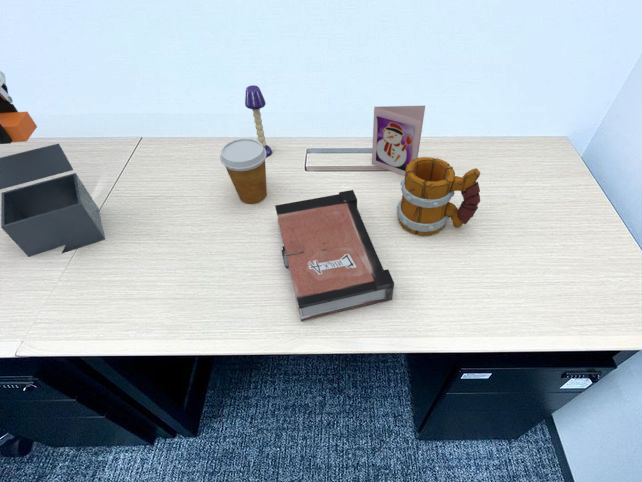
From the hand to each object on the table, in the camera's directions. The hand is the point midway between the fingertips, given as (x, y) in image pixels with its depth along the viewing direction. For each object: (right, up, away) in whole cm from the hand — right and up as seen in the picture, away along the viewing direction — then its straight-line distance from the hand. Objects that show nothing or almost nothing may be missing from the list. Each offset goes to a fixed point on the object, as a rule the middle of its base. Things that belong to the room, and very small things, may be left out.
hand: (9, 133), depth 71 cm
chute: (+2, -17, +11) cm, 21 cm away
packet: (0, 0, 0) cm, 0 cm away
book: (+57, -22, +8) cm, 61 cm away
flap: (-1, -5, +5) cm, 7 cm away
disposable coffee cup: (+39, -8, +20) cm, 44 cm away
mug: (+79, -14, +15) cm, 81 cm away
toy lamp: (+39, +5, +31) cm, 50 cm away
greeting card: (+73, +1, +28) cm, 78 cm away
